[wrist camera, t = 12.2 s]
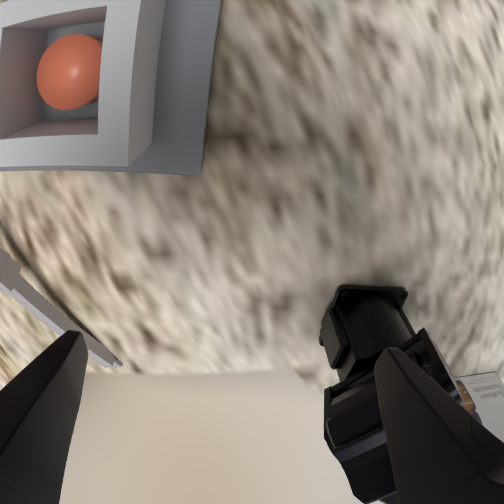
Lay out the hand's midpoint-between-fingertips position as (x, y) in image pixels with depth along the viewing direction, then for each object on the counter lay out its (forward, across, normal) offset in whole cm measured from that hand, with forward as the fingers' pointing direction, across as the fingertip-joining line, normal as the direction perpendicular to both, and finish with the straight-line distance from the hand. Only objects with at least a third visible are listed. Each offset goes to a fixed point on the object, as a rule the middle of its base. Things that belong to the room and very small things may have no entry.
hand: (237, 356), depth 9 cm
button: (+11, +9, -7) cm, 16 cm away
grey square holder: (+13, +9, -7) cm, 17 cm away
